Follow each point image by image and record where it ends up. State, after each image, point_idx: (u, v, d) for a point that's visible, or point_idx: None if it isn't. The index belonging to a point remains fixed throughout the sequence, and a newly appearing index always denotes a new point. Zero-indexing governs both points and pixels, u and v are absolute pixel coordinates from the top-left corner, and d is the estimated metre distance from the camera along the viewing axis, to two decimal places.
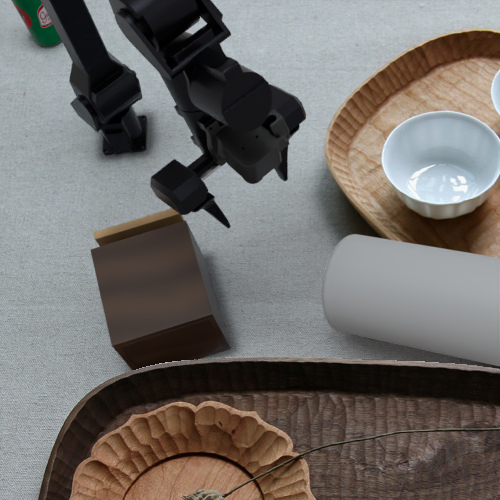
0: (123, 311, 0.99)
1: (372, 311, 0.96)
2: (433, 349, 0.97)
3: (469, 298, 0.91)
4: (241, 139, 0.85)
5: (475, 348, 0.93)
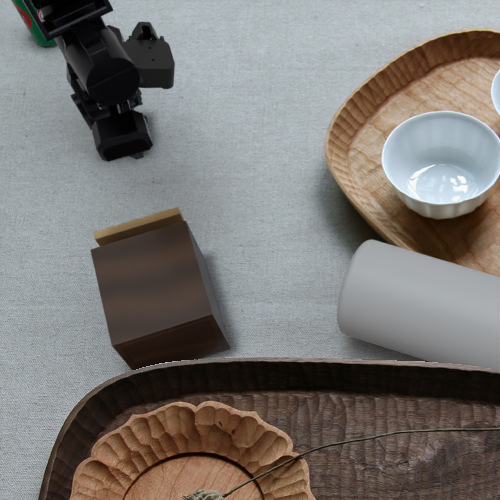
0: (123, 311, 0.99)
1: (391, 324, 0.97)
2: None
3: (493, 324, 0.94)
4: (144, 55, 0.94)
5: None
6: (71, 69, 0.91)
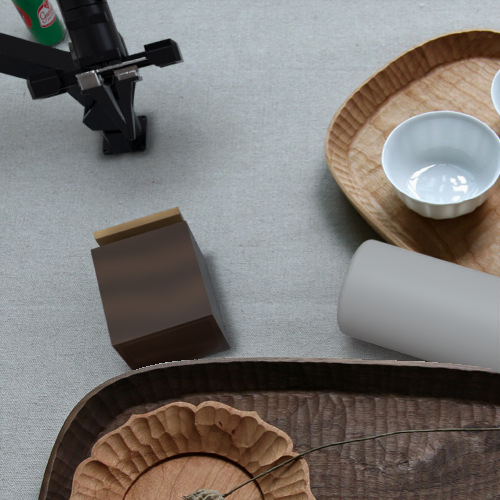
0: (123, 311, 0.99)
1: (391, 324, 0.97)
2: None
3: (493, 324, 0.94)
4: None
5: None
6: None
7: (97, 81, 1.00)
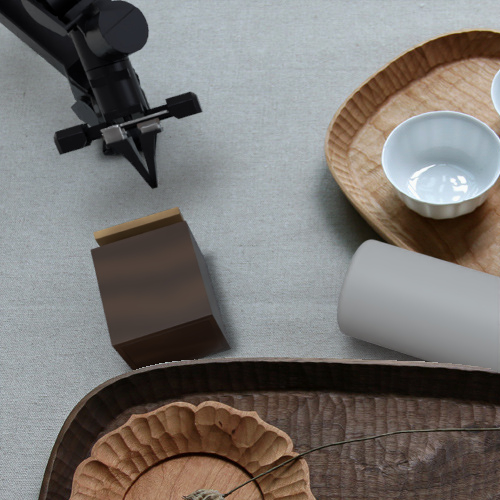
0: (123, 311, 0.99)
1: (391, 324, 0.97)
2: None
3: (493, 324, 0.94)
4: None
5: None
6: (123, 69, 1.01)
7: (121, 135, 1.03)
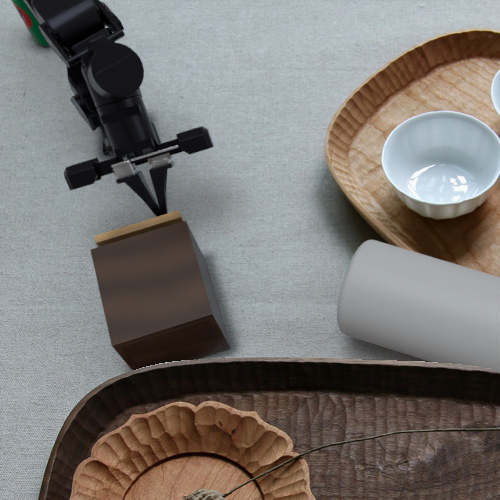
0: (123, 311, 0.99)
1: (391, 324, 0.97)
2: None
3: (493, 324, 0.94)
4: None
5: None
6: (134, 105, 1.00)
7: (132, 170, 1.03)
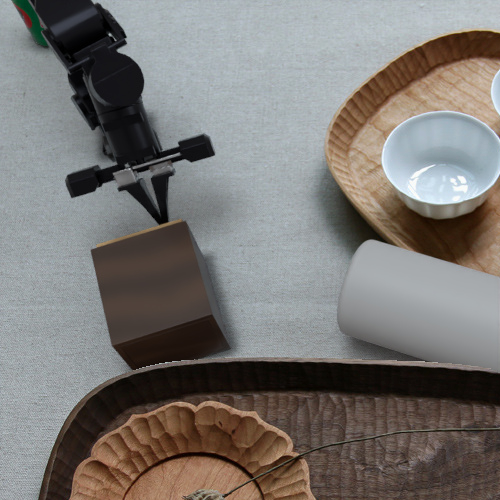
0: (123, 311, 0.99)
1: (391, 324, 0.97)
2: None
3: (493, 324, 0.94)
4: None
5: None
6: (136, 113, 1.00)
7: (133, 178, 1.02)
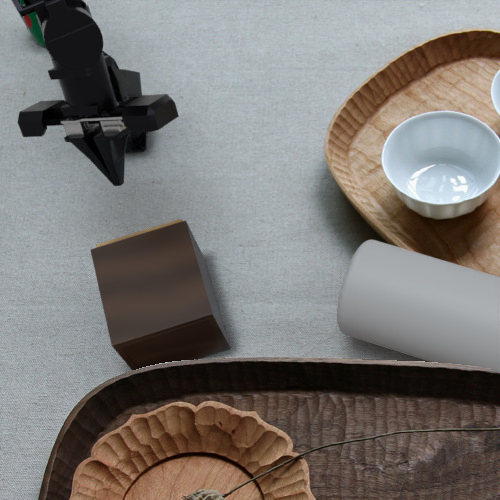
0: (123, 311, 0.99)
1: (391, 324, 0.97)
2: None
3: (493, 324, 0.94)
4: None
5: None
6: None
7: (81, 131, 0.96)
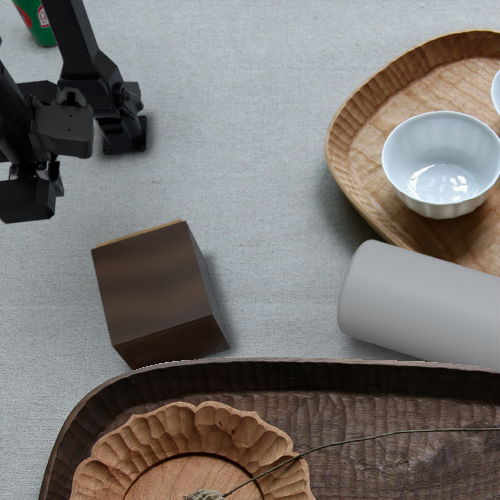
0: (123, 311, 0.99)
1: (391, 324, 0.97)
2: None
3: (493, 324, 0.94)
4: (61, 123, 0.91)
5: None
6: None
7: None
